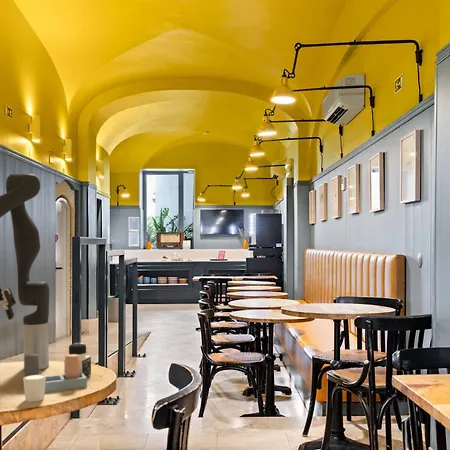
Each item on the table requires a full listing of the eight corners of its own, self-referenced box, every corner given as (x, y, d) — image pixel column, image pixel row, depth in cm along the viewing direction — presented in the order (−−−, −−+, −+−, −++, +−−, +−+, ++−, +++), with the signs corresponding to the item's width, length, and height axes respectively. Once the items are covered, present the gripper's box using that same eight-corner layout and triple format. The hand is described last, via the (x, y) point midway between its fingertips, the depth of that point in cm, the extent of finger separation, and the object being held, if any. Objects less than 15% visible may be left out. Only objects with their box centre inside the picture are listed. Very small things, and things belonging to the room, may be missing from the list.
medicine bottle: (82, 380, 204) (82, 346, 204) (64, 379, 206) (63, 345, 206) (91, 374, 211) (90, 342, 211) (73, 374, 212) (72, 341, 213)
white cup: (50, 396, 184) (50, 374, 184) (37, 403, 178) (36, 380, 178) (32, 395, 187) (32, 373, 187) (18, 401, 180) (18, 378, 180)
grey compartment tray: (37, 385, 197) (37, 356, 197) (82, 380, 203) (81, 352, 203) (40, 392, 189) (40, 362, 189) (87, 386, 195) (86, 357, 195)
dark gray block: (24, 383, 201) (23, 354, 201) (38, 381, 203) (38, 353, 203) (25, 386, 197) (24, 357, 197) (40, 384, 199) (39, 355, 199)
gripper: (9, 269, 195) (24, 313, 198) (-28, 276, 198) (-13, 320, 201) (-3, 276, 188) (13, 321, 191) (-41, 284, 191) (-25, 329, 194)
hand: (0, 320), depth 196 cm, fingers open, 8 cm apart
